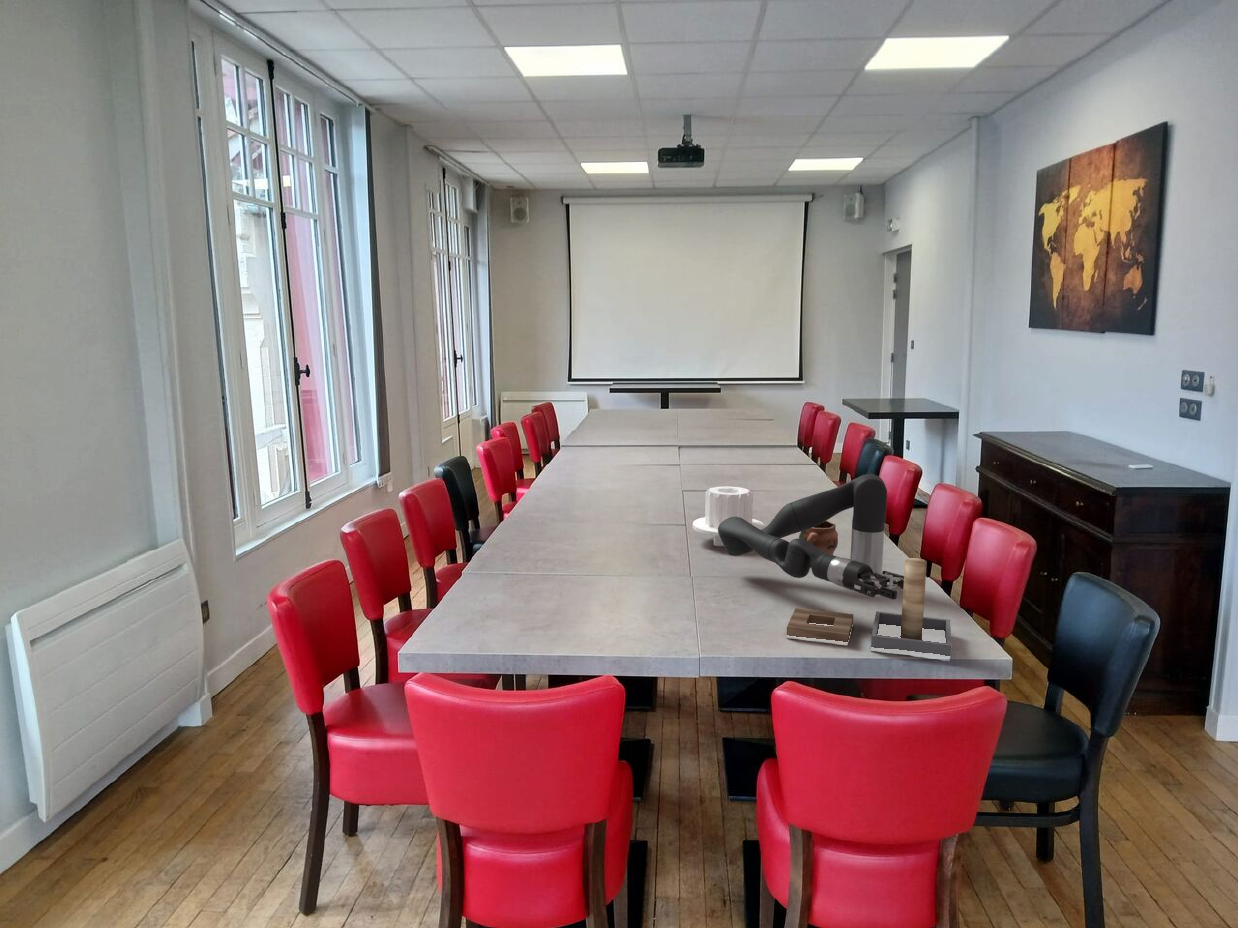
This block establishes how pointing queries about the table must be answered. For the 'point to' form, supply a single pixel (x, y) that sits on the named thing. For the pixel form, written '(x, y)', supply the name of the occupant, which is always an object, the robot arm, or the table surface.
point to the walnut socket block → (803, 629)
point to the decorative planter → (822, 537)
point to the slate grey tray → (911, 644)
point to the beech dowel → (913, 598)
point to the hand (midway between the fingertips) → (905, 591)
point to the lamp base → (725, 510)
